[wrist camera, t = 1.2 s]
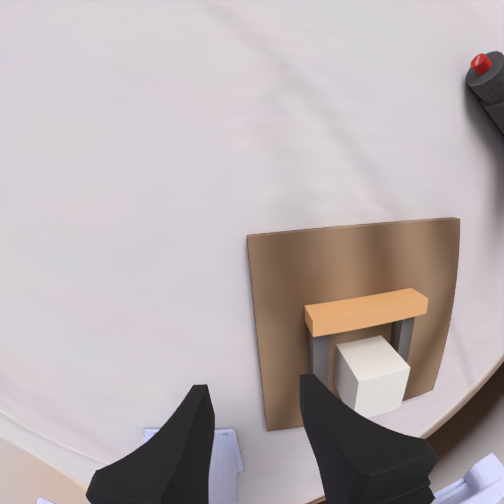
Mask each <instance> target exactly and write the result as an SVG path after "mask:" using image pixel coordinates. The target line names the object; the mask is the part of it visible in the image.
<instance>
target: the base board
mask: <svg viewBox="0 0 504 504" xmlns="http://www.w3.org/2000/svg"><path fill="white" fill-rule="evenodd" d="M459 241H460V219H459V218H453V217H452V218H437V219H423V220H409V221H396V222H383V223H371V224H359V225H347V226H336V227H324V228H313V229H303V230H292V231H282V232H272V233H261V234H252V235H247V242H248V252H249V262H250V272H251V281H252V291H253V301H254V311H255V320H256V330H257V340H258V349H259V359H260V369H261V378H262V388H263V397H264V406H265V416H266V425H267V431H275V430H283V429H290V428H296V427H302V426H304V424H303V420H302V415H301V411H300V383H299V375H303V374H309V373H313V374H315V375H316V376H317V377H318V379H319V380H320V381H321V382H322V383H323V384H324V385H325V386H326V387H327V388H328V389H329V390H330V391H331V392H332V393H333V394H334V395H336V396H337V397H338V398H339V399H340V400H341V401H342V399H341V397H340V395H339V393H338V391H337V389H336V387H335V385H334V374H335V357H336V345H337V344H342V343H347V342H352V341H357V340H362V339H367V338H371V337H376V336H380V335H381V336H382V337H383V338H384V339H385V340H386V341H387V342H388V343H389V344H390V345H391V346H392V348H393V349H394V350H395V351H396V352H397V353H398V354H399V355H400V356H401V357H402V359H403V360H404V361H405V362H406V363H407V364H408V365H409V366H410V372H409V376H408V380H407V384H406V388H405V392H404V396H403V399H402V401H404V400H407V399H410V398H413V397H416V396H418V395H421V394H423V393H426V392H429V391H431V390H433V388H434V385H435V382H436V378H437V375H438V371H439V368H440V364H441V360H442V356H443V352H444V348H445V344H446V340H447V335H448V330H449V325H450V320H451V314H452V308H453V302H454V295H455V288H456V279H457V270H458V258H459ZM408 288H412V289H414V290H416V291H417V292H419V293H420V294H422V295H424V296H425V297H427V298H428V305H427V312H426V314H422V315H418V316H414V317H410V318H406V319H402V320H398V321H394V322H389V323H385V324H380V325H376V326H371V327H366V328H361V329H356V330H351V331H346V332H340V333H334V334H329V335H323V336H317V337H313V336H312V334H311V332H310V330H309V328H308V326H307V324H306V322H305V313H304V306H305V305H312V304H319V303H326V302H333V301H339V300H346V299H352V298H358V297H364V296H370V295H375V294H381V293H387V292H392V291H397V290H402V289H408Z"/></svg>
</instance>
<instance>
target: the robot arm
mask: <svg viewBox="0 0 504 504" xmlns="http://www.w3.org/2000/svg"><path fill="white" fill-rule="evenodd" d="M299 383H300V411H301V415H302V420H303V424H304V427H305V430H306V433H307V436H308V438H309V441H310V444H311V447H312V449H313V452H314V455H315V457H316V460H317V463H318V467H319V471H320V475H321V479H322V484H323V489H324V493H325V498H326V503H327V504H499V503H500V502H501V501H502V500H503V499H504V467H503V465H502V464H501V463H500V461H499V460H498V459H497V458H496V457H495V456H494V454H493V453H490V454H489V455H487V456H486V457H484V458H483V459H482V460H480V461H478V462H477V463H476V464H474V465H473V466H472V467H471V468H470V469H469V470H468V471H467V472H466V474H465V475H464V477H463V478H461V479H459V480H457V481H456V482H454V483H452V484H451V485H449V486H447V487H445V488H444V489H442V490H440V491H438V492H436V493H434V494H433V493H432V491H431V489H430V488H429V485H430V484H431V483H430V480H429V479H428V475H429V473H430V472H431V470H432V469H433V467H434V466H435V463H436V461H437V454H436V453H435V451H434V450H433V448H432V447H431V445H430V444H429V443H428V442H427V441H426V440H425V439H421V438H417V437H412V436H408V435H404V434H401V433H398V432H395V431H392V430H390V429H387V428H385V427H383V426H380V425H378V424H376V423H374V422H372V421H370V420H368V419H367V418H365V417H363V416H362V415H360V414H359V413H357V412H356V411H354V410H353V409H351V408H350V407H349V406H347V405H346V404H345V403H344V402H342V401H341V400H340V399H339V398H338V397H337V396H336V395H334V394H333V393H332V392H331V391H330V390H329V389H328V388H327V387H326V386H325V385H324V384H323V383H322V382H321V381H320V380H319V379H318V377H317V376H316V375H315V374H313V373H309V374H303V375H299ZM224 433H226V434H224ZM143 434H144V436H145V438H144V441H143V444H142V446H140V447H139V448H138V449H136V450H135V451H134V452H132V453H131V454H129V455H127V456H126V457H124V458H122V459H120V460H119V461H117V462H115V463H113V464H111V465H108V466H106V467H104V468H102V469H99V470H96V472H95V474H94V476H93V477H92V480H91V482H90V485H89V487H88V490H87V493H86V497H87V499H88V500H89V501H90V503H91V504H237V473H238V472H243V471H244V466H243V462H242V457H241V453H240V449H239V444H238V440H237V436H236V432H235V430H233V429H222V430H215V414H214V410H213V406H212V403H211V399H210V394H209V390H208V386H207V384H205V385H193V386H192V388H191V389H190V391H189V392H188V394H187V395H186V397H185V398H184V400H183V401H182V403H181V404H180V406H179V407H178V408H177V410H176V411H175V412H174V414H173V415H172V416H171V417H170V418H169V420H168V421H167V422H166V423H165V424H164V425H163V426H162V428H161V429H147V428H146V429H144V430H143ZM36 504H55V503H53V502H51V501H49V500H46V499H44V498H42V497H39V499H38V501H37V503H36Z"/></svg>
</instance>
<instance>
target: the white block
mask: <svg viewBox="0 0 504 504" xmlns="http://www.w3.org/2000/svg"><path fill="white" fill-rule="evenodd" d="M409 372H410V366H409V365H408V364H407V363H406V362H405V361H404V360H403V359H402V357H401V356H400V355H399V354H398V353H397V352H396V351H395V350H394V349H393V348H392V346H391V345H390V344H389V343H388V342H387V341H386V340H385V339H384V338H383V337H382V336H381V335H380V336H376V337H371V338H367V339H362V340H357V341H352V342H347V343H342V344H337V345H336V357H335V374H334V385H335V387H336V389H337V391H338V393H339V395H340V397H341V399H342V402H344V403H345V404H346V405H347V406H349V407H350V408H351V409H353V410H354V411H356V412H357V413H359V414H360V415H362V416H363V417H365V418H370V417H373V416H377V415H380V414H383V413H386V412H389V411H392V410H395V409H398V408H400V407H401V403H402V399H403V396H404V392H405V388H406V384H407V380H408V376H409Z"/></svg>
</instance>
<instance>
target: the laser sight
mask: <svg viewBox="0 0 504 504" xmlns="http://www.w3.org/2000/svg"><path fill="white" fill-rule="evenodd" d="M466 82H467V84H468V85H469V86H470V88H471V89H472V90H473V91H474V92H475V94H477V95H478V96H479V102H480V103H481V104H482V106H483V107H484V108H485V110H486V111H487V112H488V114H489V115H490V116H491V118H492V119H493V121H494V122H495V123H496V125H497V126H498V128H499V129H500V131H501V132H502V134H503V135H504V55H503V54H502V53H501V52H498V51H494V52H489V53H487V54H484V53H483V54H479V55H477V56H476V57H475V58H474V59H473V60H472V62H471V68H470V69H469V71H468V73H467V76H466Z"/></svg>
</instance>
